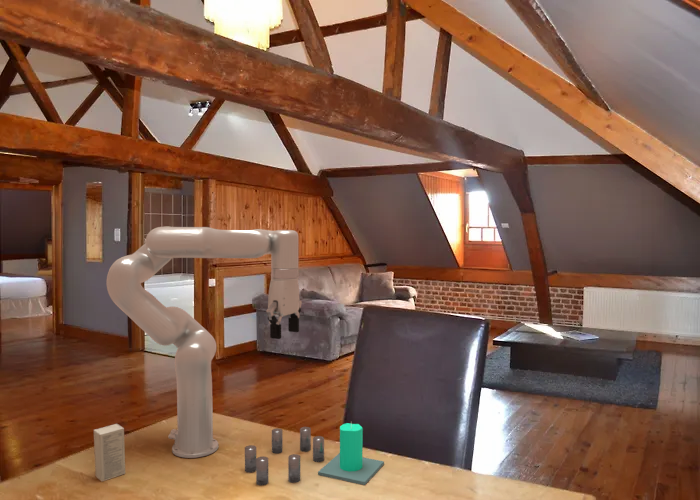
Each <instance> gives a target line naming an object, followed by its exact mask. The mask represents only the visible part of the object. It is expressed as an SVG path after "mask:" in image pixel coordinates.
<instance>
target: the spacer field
mask: <svg viewBox="0 0 700 500" xmlns="http://www.w3.org/2000/svg"><path fill="white" fill-rule="evenodd" d="M311 428H312V427H309V426H303V427H300V428H299V451H300V452H304V453H306V452H307V453H308V452H309V451H311V450H312V461H313V462H314V463H323V462H324V461H325V438H324V437H323V436H321V435H317V436H313V437H312V436H311V434H312V430H311ZM311 438H312V439H311ZM283 440H284V439H283V429H282V428H277V427H276V428H273V429H272V430H271V453H272V454H276V455H277V454H282V453H283V445H284V444H283V443H284V442H283ZM311 441H312V443H311ZM311 444H312V446H311ZM311 447H312V449H311ZM287 461H288V463H287V464H288V467H287V468H288V470H287V471H288V473H287V475H288V476H287V477H288V478H287V479H288V480H287V481H288V482H289V483H291V484H296V483H299V482H300V481H301V455H300V454H296V453H295V454H293V453H292V454H289V455H288V459H287ZM244 472H245V473H247V474H251V473H255V475H256V476H255V479H256V480H255V481H256V482H255V483H256V485H258V486H266V485H268V484H269V457H268V456H263V455H262V456H258V457H257V446H256V445H246V446H245V447H244Z"/></svg>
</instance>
